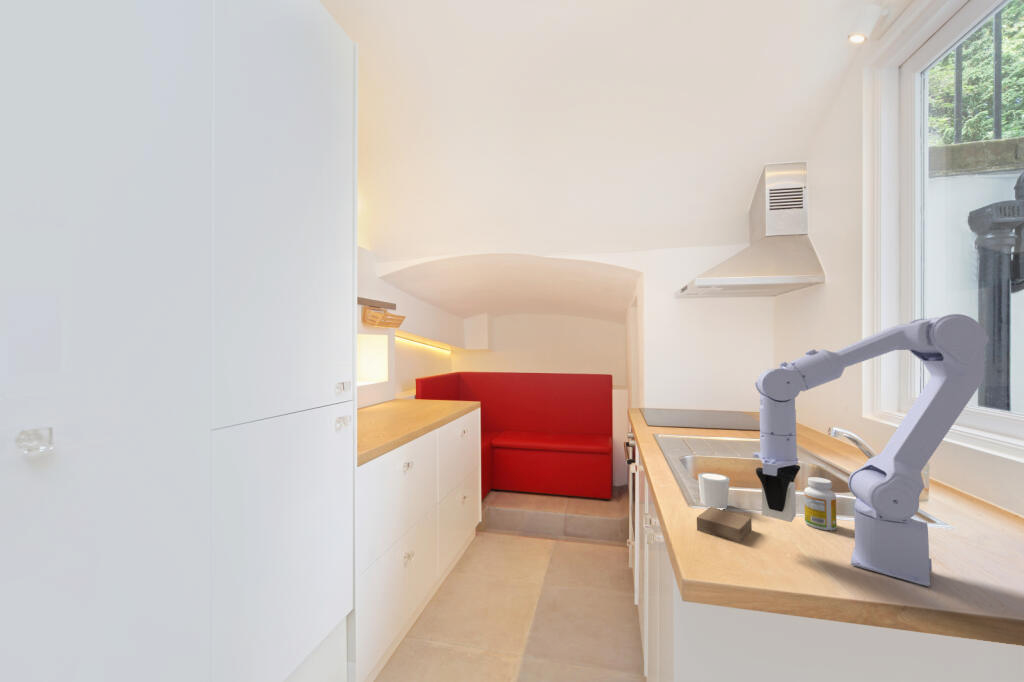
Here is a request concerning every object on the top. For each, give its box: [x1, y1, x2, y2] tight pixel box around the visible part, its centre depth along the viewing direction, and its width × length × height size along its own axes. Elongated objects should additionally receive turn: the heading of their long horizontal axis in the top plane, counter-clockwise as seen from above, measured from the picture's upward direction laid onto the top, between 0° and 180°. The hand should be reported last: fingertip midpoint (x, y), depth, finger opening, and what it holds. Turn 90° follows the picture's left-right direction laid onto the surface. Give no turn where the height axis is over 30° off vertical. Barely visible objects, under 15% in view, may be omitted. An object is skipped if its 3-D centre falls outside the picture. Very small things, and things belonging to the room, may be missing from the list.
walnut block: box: [696, 507, 753, 544], centre depth 83 cm, size 8×8×3 cm
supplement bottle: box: [803, 476, 838, 531], centre depth 86 cm, size 5×5×10 cm
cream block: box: [761, 481, 797, 523], centre depth 75 cm, size 4×4×6 cm
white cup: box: [697, 472, 730, 508], centre depth 96 cm, size 7×7×7 cm
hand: (779, 506), depth 75 cm, fingers closed on cream block, 4 cm apart
